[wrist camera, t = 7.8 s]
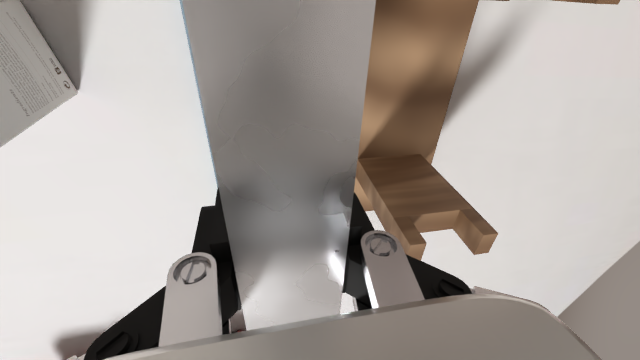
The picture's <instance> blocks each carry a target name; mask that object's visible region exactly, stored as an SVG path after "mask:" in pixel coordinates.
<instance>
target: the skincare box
mask: <svg viewBox="0 0 640 360" xmlns="http://www.w3.org/2000/svg"><path fill="white" fill-rule="evenodd" d="M77 93H78V92H77V90H76V88H75V87H74V85H73V84H72V82H71V81H70V79H69V77H68V76H67V74H66V73H65V71H64V69H63V68H62V66H61V65H60V63H59V61H58V60H57V58H56V57H55V55H54V53H53V52H52V50H51V49H50V47H49V46H48V44H47V42H46V41H45V39H44V38H43V36H42V35H41V33H40V32H39V30H38V28H37V27H36V25H35V24H34V22H33V20H32V19H31V17H30V16H29V14H28V13H27V11H26V9H25V8H24V6H23V5H22V3H21V2H20V1H19V0H2V1H0V147H2V146H3V145H5V144H6V143H8V142H9V141H10V140H12V139H13V138H15V137H16V136H17V135H19V134H20V133H22V132H23V131H25V130H26V129H27V128H29V127H30V126H32V125H33V124H35V123H36V122H37V121H39V120H40V119H42V118H43V117H44V116H46V115H47V114H49V113H50V112H52V111H53V110H54V109H56V108H57V107H59V106H60V105H62V104H63V103H64V102H66V101H67V100H69V99H70V98H72V97H73V96H75V95H77Z"/></svg>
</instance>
